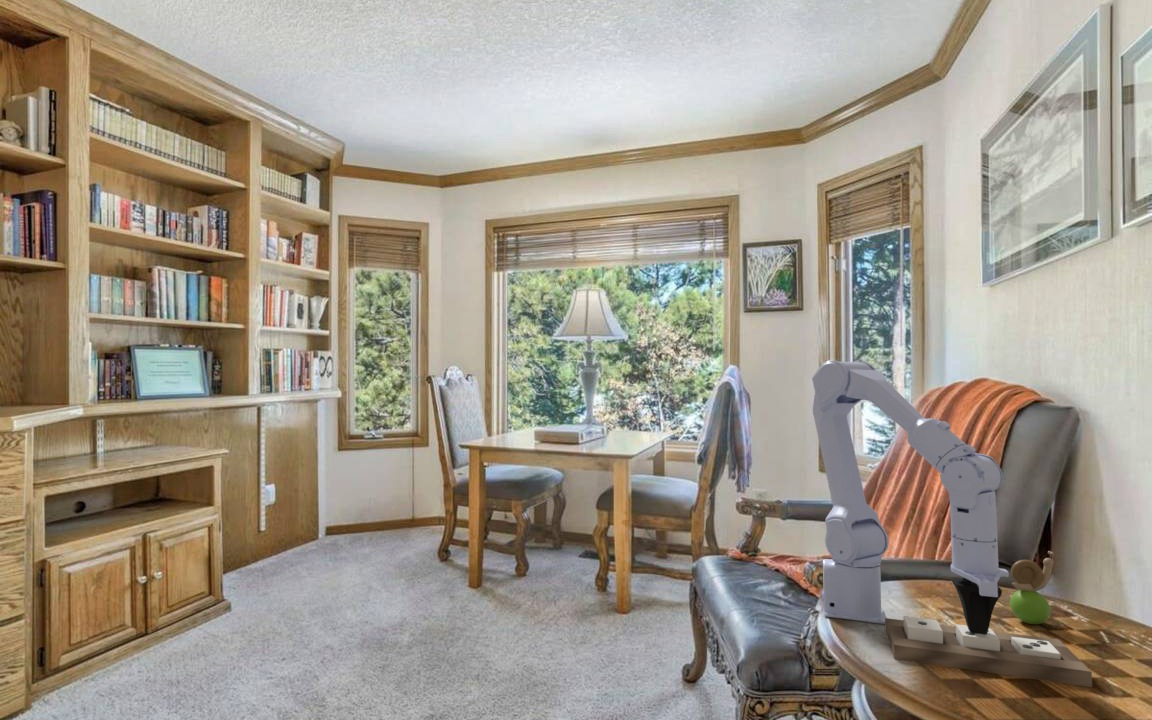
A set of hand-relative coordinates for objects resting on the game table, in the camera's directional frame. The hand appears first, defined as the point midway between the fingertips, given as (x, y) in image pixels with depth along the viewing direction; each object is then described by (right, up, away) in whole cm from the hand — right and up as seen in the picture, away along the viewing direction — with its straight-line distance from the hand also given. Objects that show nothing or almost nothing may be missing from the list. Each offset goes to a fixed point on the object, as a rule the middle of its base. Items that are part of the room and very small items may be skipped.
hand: (977, 631), depth 88 cm
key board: (0, -4, 0) cm, 4 cm away
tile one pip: (-7, -2, +2) cm, 7 cm away
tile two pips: (0, -3, 0) cm, 2 cm away
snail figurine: (+18, -4, +12) cm, 22 cm away
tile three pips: (+6, -3, -3) cm, 8 cm away
